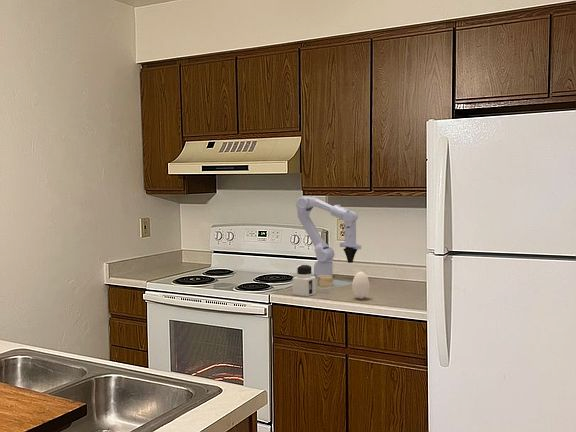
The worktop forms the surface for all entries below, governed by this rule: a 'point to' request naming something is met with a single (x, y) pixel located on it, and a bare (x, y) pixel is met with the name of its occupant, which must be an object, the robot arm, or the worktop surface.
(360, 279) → the egg
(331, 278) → the oak block
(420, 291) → the worktop surface
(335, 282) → the board
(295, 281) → the container
